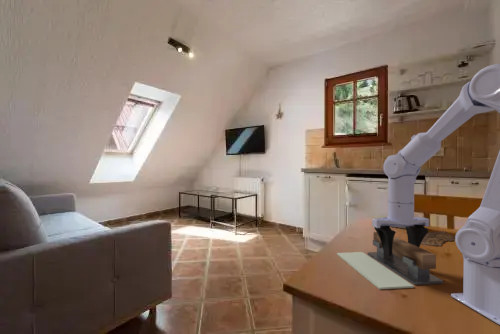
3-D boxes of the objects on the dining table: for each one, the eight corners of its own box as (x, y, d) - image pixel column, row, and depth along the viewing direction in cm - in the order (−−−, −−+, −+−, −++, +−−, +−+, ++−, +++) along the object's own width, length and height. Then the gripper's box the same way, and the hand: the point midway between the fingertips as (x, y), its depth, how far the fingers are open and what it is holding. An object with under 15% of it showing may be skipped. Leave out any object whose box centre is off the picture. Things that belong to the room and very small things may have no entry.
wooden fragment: (436, 249, 76) (436, 246, 76) (399, 240, 86) (399, 237, 86) (465, 236, 90) (465, 233, 90) (431, 229, 99) (431, 227, 99)
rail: (435, 268, 54) (435, 254, 54) (422, 269, 54) (422, 255, 54) (383, 242, 72) (383, 231, 72) (373, 242, 72) (373, 232, 72)
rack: (443, 283, 54) (443, 262, 54) (414, 284, 54) (414, 263, 54) (389, 253, 72) (389, 237, 72) (367, 254, 72) (367, 238, 72)
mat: (413, 287, 53) (413, 285, 53) (379, 289, 52) (379, 287, 52) (362, 253, 73) (362, 251, 73) (336, 254, 72) (336, 252, 72)
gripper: (414, 199, 67) (414, 247, 68) (365, 200, 66) (365, 249, 66) (436, 203, 60) (435, 257, 61) (382, 204, 59) (381, 259, 59)
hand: (400, 254), depth 63 cm, fingers open, 6 cm apart
